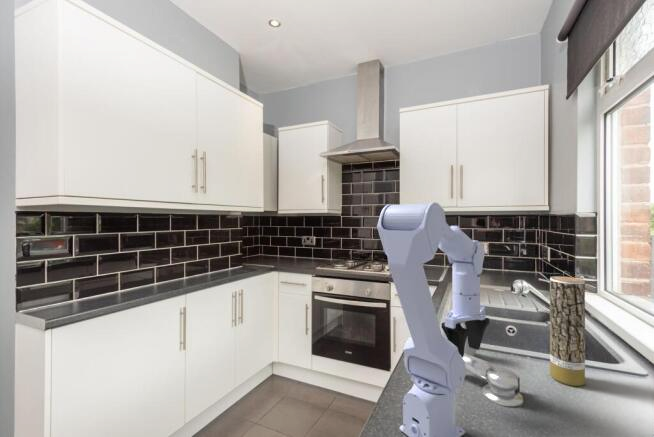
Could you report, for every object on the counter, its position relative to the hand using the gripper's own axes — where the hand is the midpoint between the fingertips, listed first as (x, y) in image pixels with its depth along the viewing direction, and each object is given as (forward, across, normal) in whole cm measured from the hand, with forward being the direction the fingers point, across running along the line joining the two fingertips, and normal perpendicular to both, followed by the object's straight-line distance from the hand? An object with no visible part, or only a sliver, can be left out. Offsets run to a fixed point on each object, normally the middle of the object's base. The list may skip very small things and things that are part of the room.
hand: (466, 352), depth 70 cm
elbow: (+7, +7, -1) cm, 10 cm away
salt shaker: (+10, +19, +10) cm, 24 cm away
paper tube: (+10, +26, -12) cm, 30 cm away
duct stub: (+10, +6, -5) cm, 13 cm away
